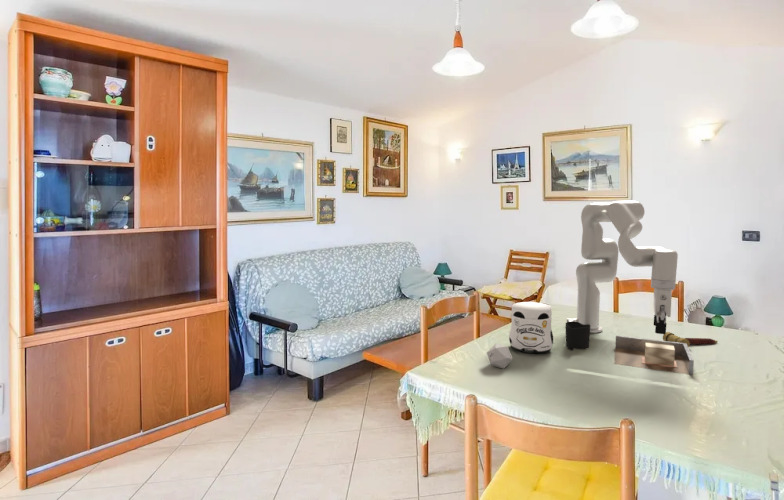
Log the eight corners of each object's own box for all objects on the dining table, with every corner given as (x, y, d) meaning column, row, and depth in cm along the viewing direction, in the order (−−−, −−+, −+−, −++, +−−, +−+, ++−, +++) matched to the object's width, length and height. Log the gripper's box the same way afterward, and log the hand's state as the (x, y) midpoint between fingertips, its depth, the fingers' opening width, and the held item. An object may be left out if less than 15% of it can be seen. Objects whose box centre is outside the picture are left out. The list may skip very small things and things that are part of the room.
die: (488, 362, 171) (480, 346, 166) (507, 350, 172) (500, 335, 166) (498, 377, 165) (490, 361, 159) (518, 365, 165) (511, 349, 160)
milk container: (524, 358, 173) (525, 313, 171) (501, 344, 190) (501, 303, 188) (562, 353, 178) (563, 309, 176) (536, 340, 195) (537, 300, 193)
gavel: (708, 332, 192) (727, 340, 183) (707, 343, 193) (726, 350, 183) (663, 331, 190) (680, 338, 180) (661, 342, 191) (678, 349, 181)
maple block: (672, 361, 164) (673, 345, 164) (673, 366, 160) (674, 350, 159) (644, 358, 168) (645, 342, 168) (645, 362, 164) (645, 346, 163)
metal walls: (614, 363, 164) (615, 350, 163) (615, 347, 181) (615, 335, 181) (692, 374, 153) (693, 360, 152) (685, 356, 170) (686, 343, 170)
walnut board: (614, 366, 164) (614, 363, 164) (615, 349, 181) (615, 346, 181) (692, 377, 153) (692, 374, 153) (685, 358, 170) (685, 355, 170)
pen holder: (584, 344, 189) (585, 321, 188) (593, 351, 179) (594, 327, 178) (561, 344, 189) (562, 321, 188) (569, 352, 180) (570, 327, 179)
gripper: (677, 289, 152) (673, 338, 154) (672, 280, 167) (669, 324, 169) (652, 287, 155) (648, 335, 157) (649, 278, 170) (646, 321, 173)
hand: (659, 329), depth 163 cm, fingers open, 9 cm apart
